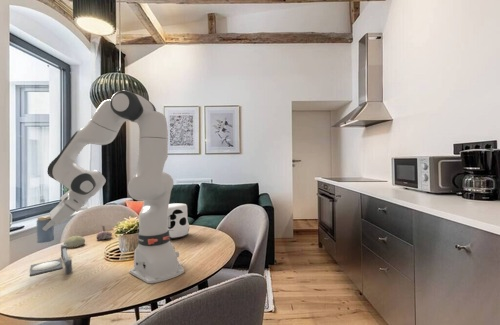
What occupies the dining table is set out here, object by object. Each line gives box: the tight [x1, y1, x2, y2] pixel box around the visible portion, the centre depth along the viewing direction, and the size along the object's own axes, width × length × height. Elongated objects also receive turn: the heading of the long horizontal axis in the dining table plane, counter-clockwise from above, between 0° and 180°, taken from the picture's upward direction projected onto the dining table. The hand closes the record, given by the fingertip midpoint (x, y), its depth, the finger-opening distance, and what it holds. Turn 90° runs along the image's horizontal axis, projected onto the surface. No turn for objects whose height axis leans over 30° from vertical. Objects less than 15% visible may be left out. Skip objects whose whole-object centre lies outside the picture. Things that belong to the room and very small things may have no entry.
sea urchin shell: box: [63, 235, 86, 249], centre depth 131 cm, size 9×8×8 cm
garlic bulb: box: [96, 224, 113, 241], centre depth 141 cm, size 8×7×8 cm
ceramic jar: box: [36, 215, 55, 244], centre depth 103 cm, size 6×6×10 cm
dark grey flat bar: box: [60, 244, 73, 276], centre depth 107 cm, size 26×2×5 cm, turn 40°
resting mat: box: [29, 258, 63, 277], centre depth 103 cm, size 12×10×1 cm
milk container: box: [168, 202, 190, 240], centre depth 143 cm, size 17×17×18 cm
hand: (43, 228), depth 103 cm, fingers closed on ceramic jar, 5 cm apart
